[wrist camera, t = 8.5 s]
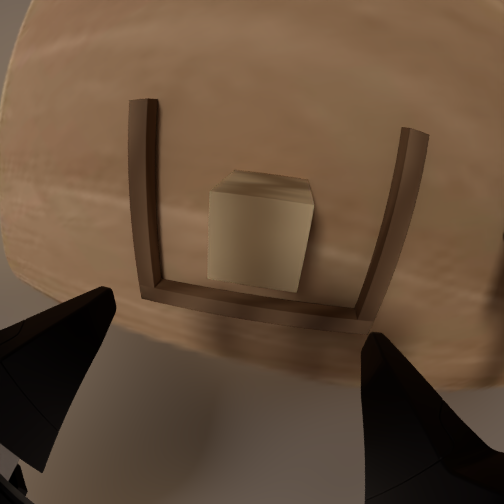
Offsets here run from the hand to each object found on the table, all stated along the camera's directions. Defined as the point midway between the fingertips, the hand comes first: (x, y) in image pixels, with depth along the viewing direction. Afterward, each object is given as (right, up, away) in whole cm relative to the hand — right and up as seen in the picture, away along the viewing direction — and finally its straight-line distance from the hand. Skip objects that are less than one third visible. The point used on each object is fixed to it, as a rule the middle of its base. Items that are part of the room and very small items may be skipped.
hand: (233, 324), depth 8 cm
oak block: (+2, +5, +11) cm, 12 cm away
